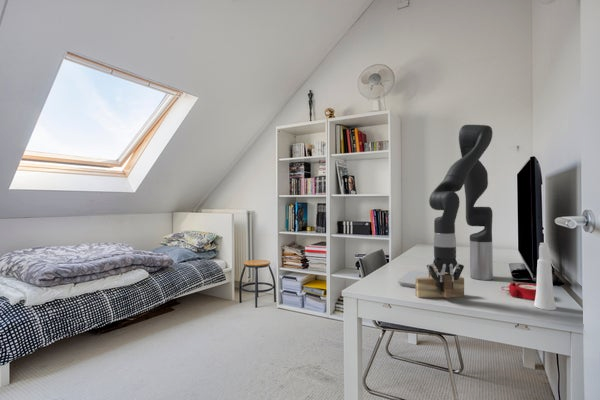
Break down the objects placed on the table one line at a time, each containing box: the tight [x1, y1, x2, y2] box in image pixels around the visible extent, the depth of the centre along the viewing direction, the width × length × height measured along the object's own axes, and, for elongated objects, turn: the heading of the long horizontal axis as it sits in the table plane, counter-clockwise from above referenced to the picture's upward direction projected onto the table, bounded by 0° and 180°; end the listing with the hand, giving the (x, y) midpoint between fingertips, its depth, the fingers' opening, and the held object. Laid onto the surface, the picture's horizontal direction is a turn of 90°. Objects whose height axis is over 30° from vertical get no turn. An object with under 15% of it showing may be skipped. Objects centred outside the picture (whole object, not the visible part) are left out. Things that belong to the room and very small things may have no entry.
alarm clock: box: [501, 282, 537, 301], centre depth 123 cm, size 10×6×15 cm
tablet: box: [397, 269, 429, 289], centre depth 146 cm, size 16×26×2 cm, turn 146°
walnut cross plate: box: [428, 267, 453, 299], centre depth 124 cm, size 14×2×8 cm, turn 2°
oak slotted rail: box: [415, 275, 465, 299], centre depth 125 cm, size 2×18×7 cm, turn 92°
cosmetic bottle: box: [533, 242, 557, 311], centre depth 110 cm, size 6×6×22 cm
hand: (445, 291), depth 120 cm, fingers closed on walnut cross plate, 2 cm apart
